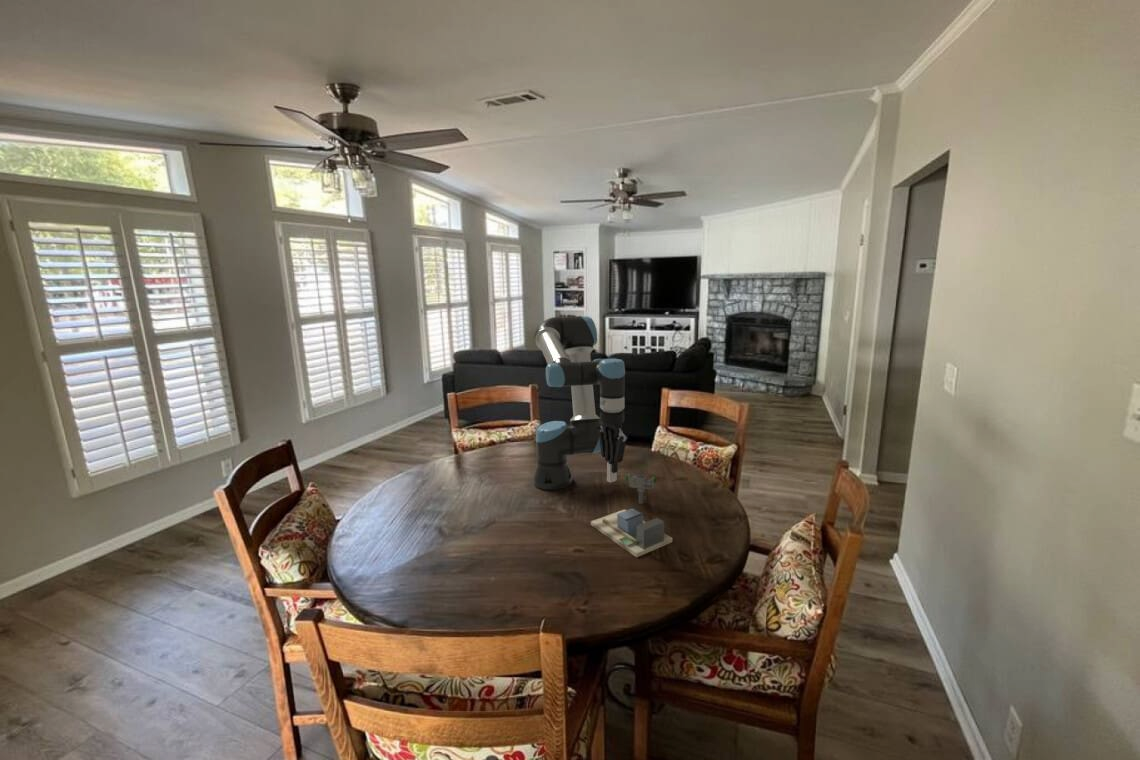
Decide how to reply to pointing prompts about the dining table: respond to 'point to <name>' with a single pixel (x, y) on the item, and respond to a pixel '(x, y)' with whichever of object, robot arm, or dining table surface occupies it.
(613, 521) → the board
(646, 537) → the dark grey textured box
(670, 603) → the dining table surface
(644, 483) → the mechanical component
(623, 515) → the carriage
